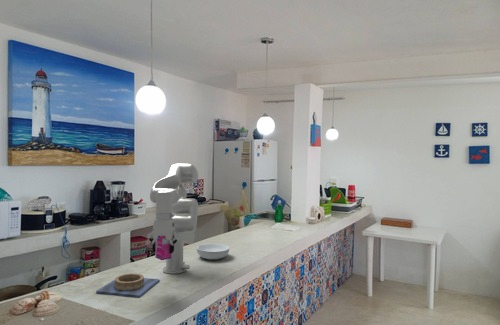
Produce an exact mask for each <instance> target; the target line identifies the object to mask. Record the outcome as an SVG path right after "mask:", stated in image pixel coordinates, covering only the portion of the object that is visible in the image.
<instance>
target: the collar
mask: <svg viewBox="0 0 500 325" xmlns="http://www.w3.org/2000/svg"><path fill="white" fill-rule="evenodd" d="M160 281H161V280H160V278H159V279H158V278H149V277H148V278H147V277H145V276H144V275H143V274H141V273H134V272H133V273H131V272H130V273H124V274H121V275H118V276H116V277H114V279H113V280H112V281H110V282H109V283H107V284H105V285H104V286H102V287H101V288H98V289H97V290H96V291H95V293H96V294H102V295H108V296H110V295H111V296H120V297H130V298H141V297H142V296H144V295H145V294H146V293H147V292H149V291H150V290H151V289H152V288H153V287H154V286H156V285H157V284H159V283H160Z"/></svg>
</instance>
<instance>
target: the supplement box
mask: <svg viewBox="0 0 500 325" xmlns="http://www.w3.org/2000/svg"><path fill="white" fill-rule="evenodd" d="M170 245H171V244H170V242H169V240H166V236H158V238H157V240H156V241H155V252H154V253H155V255H154V257H155V258H156V259H158V260H160V261H166V259H170V258H171V254H170Z"/></svg>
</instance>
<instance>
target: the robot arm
mask: <svg viewBox="0 0 500 325" xmlns="http://www.w3.org/2000/svg"><path fill="white" fill-rule="evenodd" d="M198 180H199V171H198V169H197V167H196V166H195V165H194V164H192V163H174V164H172V165H170V168H169V169H168V172H167V173H166V176H165V177H163V178H161V179H159V180H157V181H156V182H155V183H154V184H153V186H152V188H151V190H150V193H149V200H150V201H151V203H153V204H155V218H154V220H153V225H152V231H151V232H149V233H147V235H146V237H147V238H148V240H149V241H150V243H151V245H152V252H153V253H155V241H156V240H157V238H158V236H166V240H169V242H170V244H171V245H170V254H171V258H170V259H166V260H165V267H163V268H162V271H163V272H164V273H166V274H170V275H178V274H182V273H185V272H186V270H190V269H191V266H190V264H186V262H185V261H184V238H183V235H182V234H181V233H193V232H195V231H196V229H197V223H198V215H199V214H198V212H199V203H198V200H197V199H196V198H192V197H189V198H187V196H188V191H187V189H186V188H185V186H184V185H182V184H196V183H197V181H198Z"/></svg>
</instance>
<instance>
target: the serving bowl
mask: <svg viewBox="0 0 500 325" xmlns="http://www.w3.org/2000/svg"><path fill="white" fill-rule="evenodd" d="M196 252H197V254H198V256H200V258H203V259H206V260H210V261H212V260H213V261H216V260H219V259H223V258H225V257H226V256H228V254H229V252H230V246H228V245H226V244H223V243H222V244H221V243H204V244H198V246H196Z"/></svg>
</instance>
